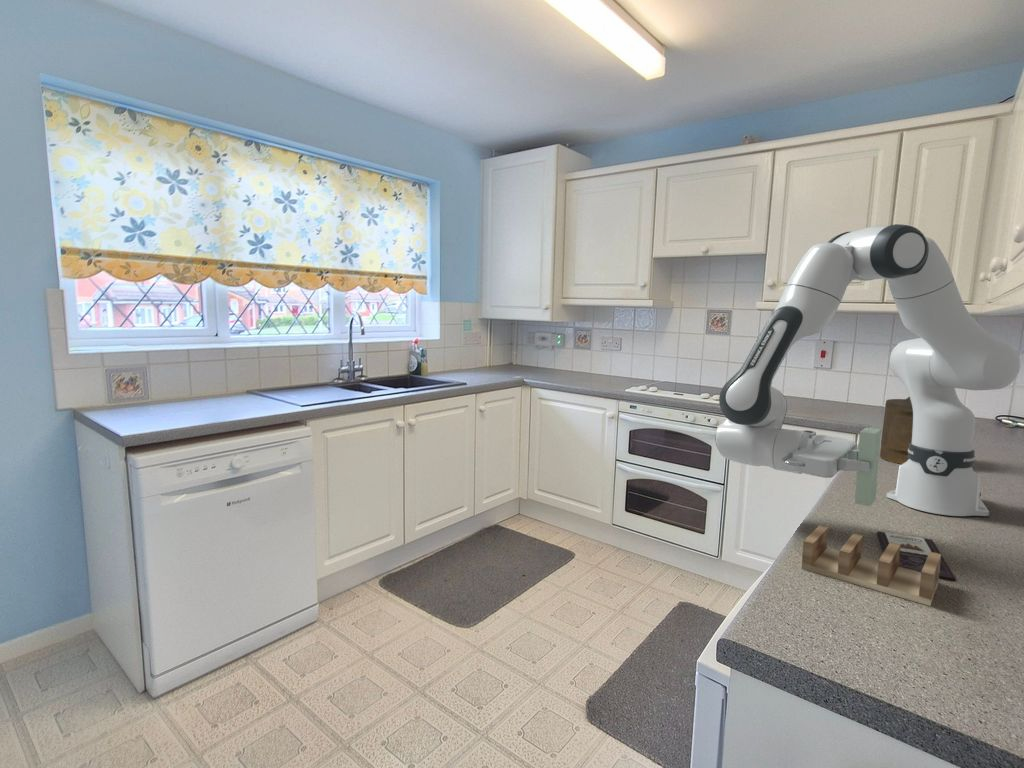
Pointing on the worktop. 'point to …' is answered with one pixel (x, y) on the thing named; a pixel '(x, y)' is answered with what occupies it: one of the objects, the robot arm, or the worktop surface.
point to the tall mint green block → (868, 480)
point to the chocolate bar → (915, 553)
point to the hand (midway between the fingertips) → (873, 463)
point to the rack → (871, 567)
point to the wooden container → (897, 430)
